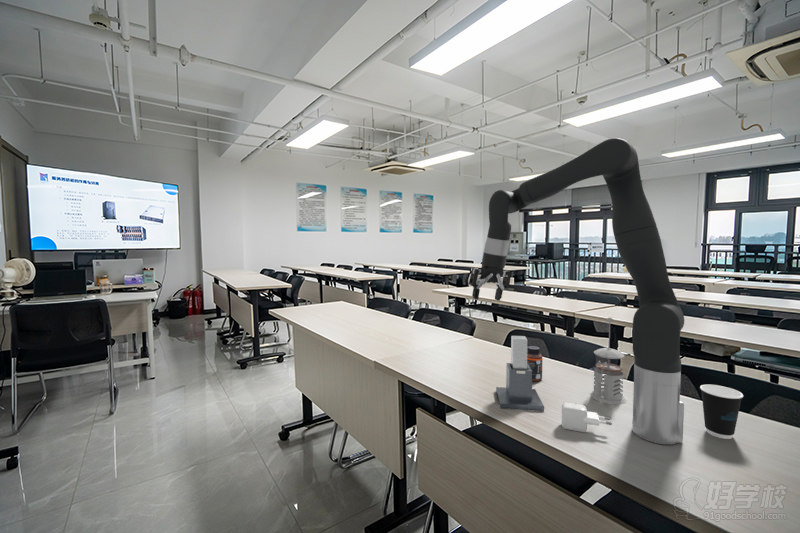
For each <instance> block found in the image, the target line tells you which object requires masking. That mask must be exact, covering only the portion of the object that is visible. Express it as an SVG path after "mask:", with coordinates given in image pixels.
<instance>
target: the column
mask: <svg viewBox="0 0 800 533" xmlns="http://www.w3.org/2000/svg"><path fill="white" fill-rule="evenodd" d="M510 338H511V340H510V342H511V343H510V346H511V347H510V351H511V352H510V353H511V354H510V363H511V369H516V370H527V352H528V339H527V337H526V336H525V335H511V337H510Z"/></svg>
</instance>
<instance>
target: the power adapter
mask: <svg viewBox="0 0 800 533" xmlns="http://www.w3.org/2000/svg"><path fill="white" fill-rule="evenodd" d="M600 424H603V425H608V426H612V424H613V422H611V418H610V417H608V416H602V415H599V414H598V412H594V411H588V409H587V406H585V405H583V404H577V403H572V402H571V403H570V402H562V404H561V426H562V428H563V429H564V430H569V431H573V432H582V433H585V432H587V430H588V425H592V426H597V427H599V426H600Z"/></svg>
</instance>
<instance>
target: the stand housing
mask: <svg viewBox="0 0 800 533" xmlns="http://www.w3.org/2000/svg"><path fill="white" fill-rule="evenodd" d="M505 371H506V376H505V377H506V378H505V379H506V380H505V381H506V384H505V385H506V386H505V387H504V386H503V387H499V386H496V387H495V392H496V396H497V400H498V404H499V407H500V409H501V410H516V411H517V410H520V411H533V412H545V406H544V403H543V402H542V400H541V398H540V396H539V394H538V392H537V390H536V389H535V388H533V381H532V370H531V368H530V367H529V365H528V364H527V370H516V369H511V362H506V369H505Z"/></svg>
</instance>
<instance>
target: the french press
mask: <svg viewBox="0 0 800 533" xmlns="http://www.w3.org/2000/svg"><path fill="white" fill-rule="evenodd" d="M605 321H606V322H608V324H609V327H608V329H609V330H608V347H603V348H597V349H596V350H594V351H593V353H594V355H595V356H596V357H600V358H602V359H607V360H608V363H607V361H604V362H601V361H602V360H598V362H597V363H595V367H594V369H593V391H591V392H590V394H589V396H590V398H592V399H594V400H596V401H598V402H601V403H603V404H609V405H623V404H626V403H627V399H626V398H625V397H624V394H623V393H624V390H623V388H624V381H623V380H624V373H623V368H622V367H621V366H620V365H618V364H614V363H610V360H621V359H623V358H625V354H624V353H622V352H621V351H619V350H617V349H615V348H611V347H610V344H611V343H610V342H611V341H610V340H611V323H613V322H614V318H612V317H607V318H606V320H605Z"/></svg>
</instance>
